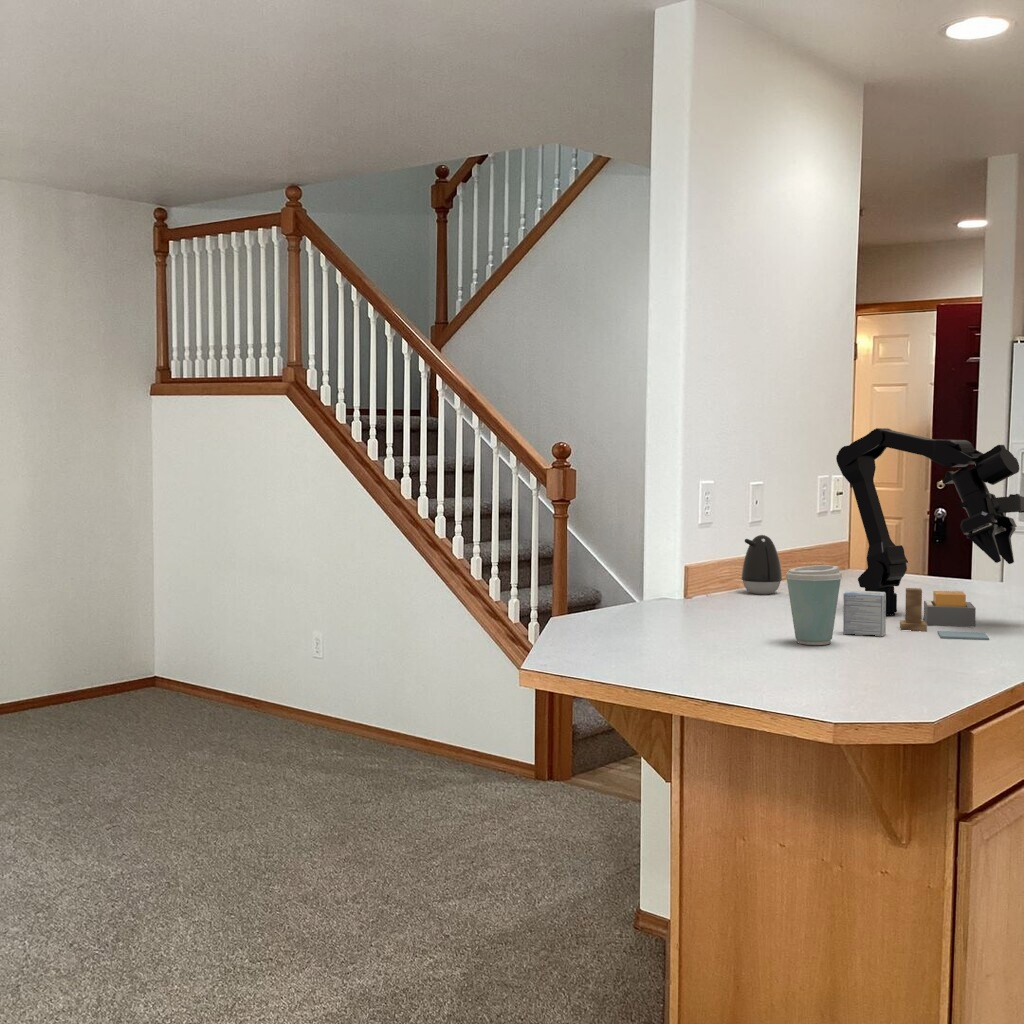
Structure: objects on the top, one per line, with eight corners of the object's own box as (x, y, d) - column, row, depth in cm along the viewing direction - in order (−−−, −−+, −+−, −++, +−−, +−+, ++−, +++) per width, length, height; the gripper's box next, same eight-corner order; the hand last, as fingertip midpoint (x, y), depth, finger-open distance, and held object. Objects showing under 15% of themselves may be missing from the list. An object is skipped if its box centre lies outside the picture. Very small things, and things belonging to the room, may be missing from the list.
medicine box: (886, 634, 238) (886, 591, 238) (883, 637, 234) (883, 594, 234) (846, 631, 242) (846, 589, 241) (842, 634, 238) (843, 592, 237)
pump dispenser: (732, 592, 305) (733, 534, 304) (765, 590, 310) (765, 532, 309) (756, 596, 296) (757, 537, 295) (789, 594, 300) (790, 535, 300)
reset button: (935, 609, 250) (935, 594, 250) (933, 606, 256) (933, 590, 256) (965, 610, 249) (965, 595, 248) (962, 607, 254) (962, 591, 254)
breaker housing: (927, 625, 249) (927, 605, 249) (923, 618, 258) (923, 599, 258) (975, 626, 247) (975, 607, 246) (969, 620, 256) (970, 601, 256)
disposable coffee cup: (802, 648, 221) (802, 570, 221) (774, 639, 232) (775, 564, 231) (851, 646, 224) (852, 568, 223) (822, 637, 235) (823, 562, 234)
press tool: (901, 630, 242) (901, 590, 242) (899, 627, 247) (900, 587, 246) (926, 631, 241) (927, 590, 240) (924, 628, 246) (925, 587, 245)
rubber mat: (940, 638, 233) (940, 636, 233) (937, 632, 239) (937, 630, 239) (989, 640, 230) (989, 637, 230) (984, 634, 237) (984, 632, 237)
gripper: (997, 474, 235) (1030, 545, 230) (1023, 481, 249) (1055, 549, 245) (946, 497, 241) (977, 567, 236) (974, 503, 255) (1004, 569, 251)
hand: (1005, 562), depth 242 cm, fingers open, 9 cm apart
